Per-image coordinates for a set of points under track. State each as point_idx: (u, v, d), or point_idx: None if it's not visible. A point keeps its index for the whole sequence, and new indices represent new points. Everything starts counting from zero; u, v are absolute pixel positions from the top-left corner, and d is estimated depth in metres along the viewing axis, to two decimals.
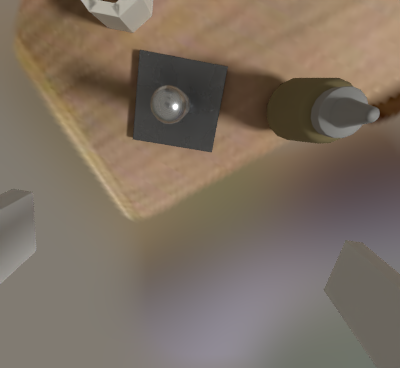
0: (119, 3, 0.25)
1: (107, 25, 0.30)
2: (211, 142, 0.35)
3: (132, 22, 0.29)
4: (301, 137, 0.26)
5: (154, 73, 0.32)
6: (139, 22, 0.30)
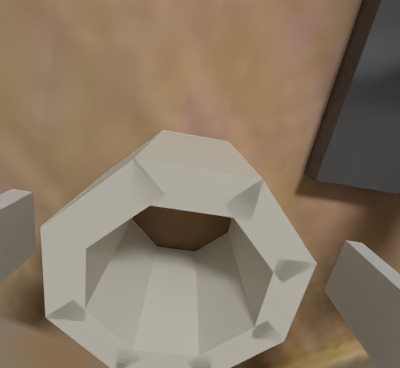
0: (276, 257, 0.07)
1: None
2: None
3: None
4: None
5: (384, 143, 0.11)
6: None
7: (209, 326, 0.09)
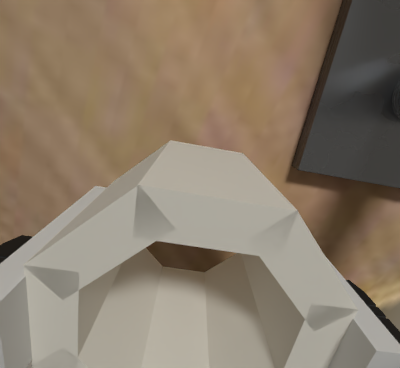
0: (309, 302, 0.06)
1: None
2: None
3: None
4: None
5: (345, 143, 0.15)
6: None
7: None
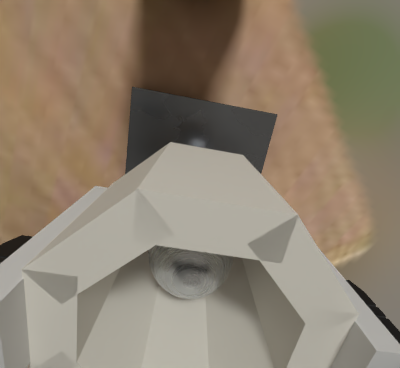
0: (310, 306, 0.06)
1: None
2: (259, 115, 0.19)
3: None
4: None
5: None
6: None
7: None
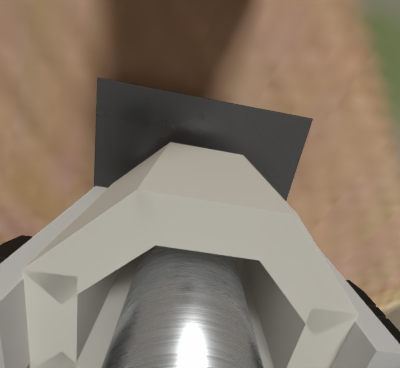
0: (310, 307, 0.06)
1: None
2: (286, 119, 0.13)
3: None
4: None
5: None
6: None
7: None
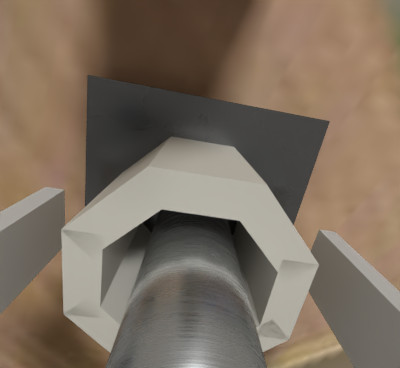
0: (280, 258, 0.07)
1: None
2: (300, 122, 0.12)
3: None
4: None
5: None
6: None
7: None
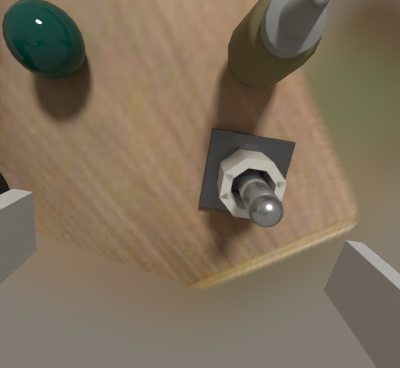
0: (276, 181, 0.29)
1: None
2: (285, 143, 0.33)
3: None
4: None
5: (218, 195, 0.36)
6: None
7: None
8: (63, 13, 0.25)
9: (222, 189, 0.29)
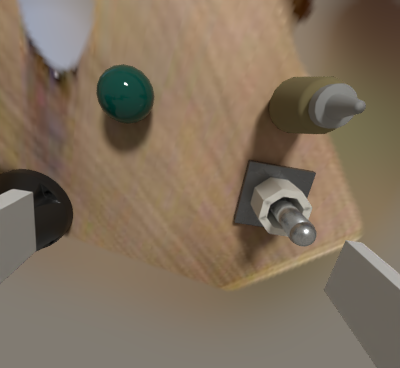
0: (304, 206, 0.36)
1: None
2: (307, 173, 0.41)
3: None
4: None
5: (250, 213, 0.43)
6: None
7: None
8: (144, 76, 0.32)
9: (261, 212, 0.37)
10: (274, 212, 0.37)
